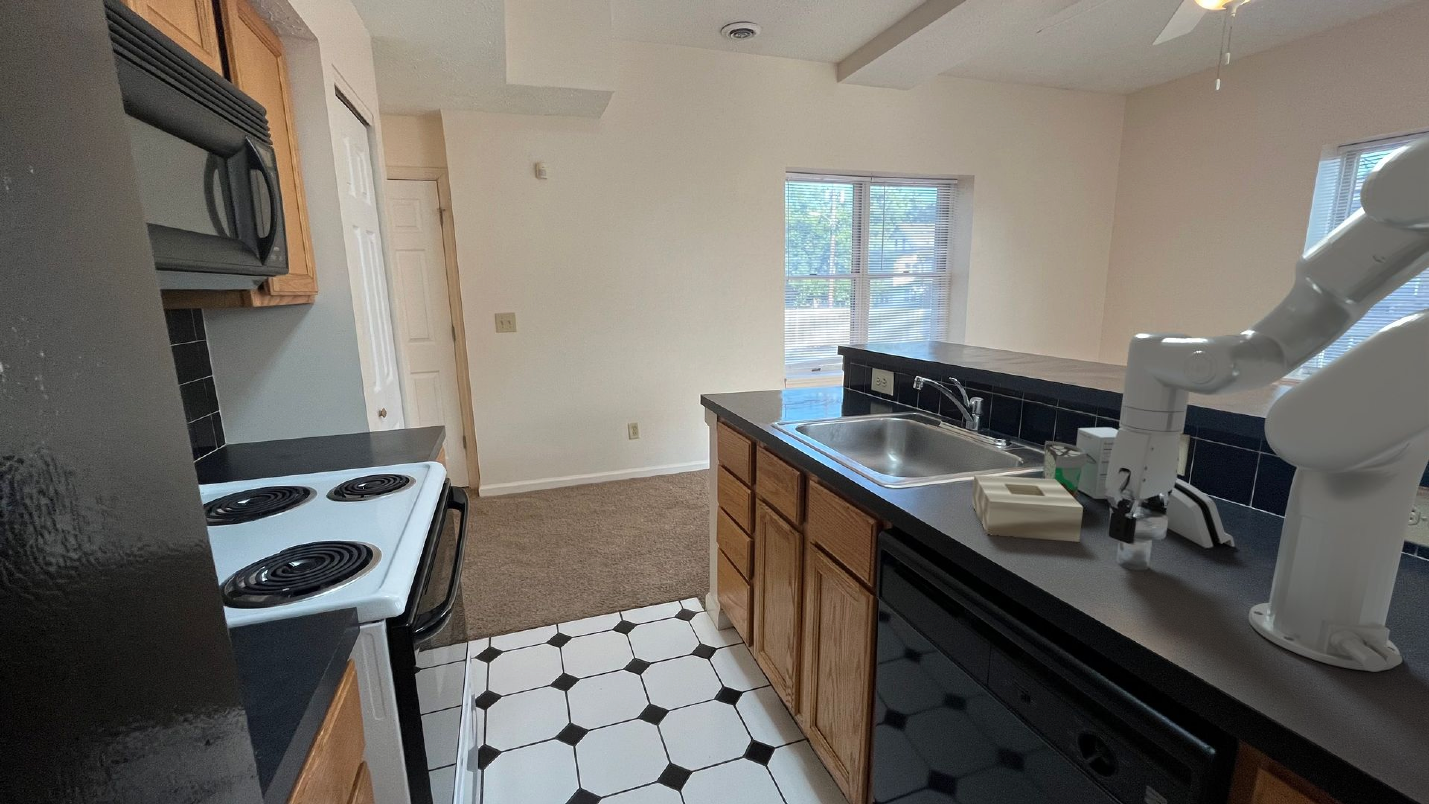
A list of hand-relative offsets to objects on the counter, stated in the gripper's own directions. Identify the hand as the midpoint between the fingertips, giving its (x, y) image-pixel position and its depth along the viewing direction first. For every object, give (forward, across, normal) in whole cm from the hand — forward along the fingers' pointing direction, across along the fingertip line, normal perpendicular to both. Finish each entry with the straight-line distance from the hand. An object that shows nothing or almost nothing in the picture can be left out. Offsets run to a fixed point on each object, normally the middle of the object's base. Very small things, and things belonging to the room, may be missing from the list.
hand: (1135, 534), depth 90 cm
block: (+5, 0, -18) cm, 19 cm away
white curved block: (+5, -20, -5) cm, 22 cm away
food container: (+5, -17, -22) cm, 28 cm away
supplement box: (+5, -27, -21) cm, 34 cm away
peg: (+5, 0, 0) cm, 5 cm away
